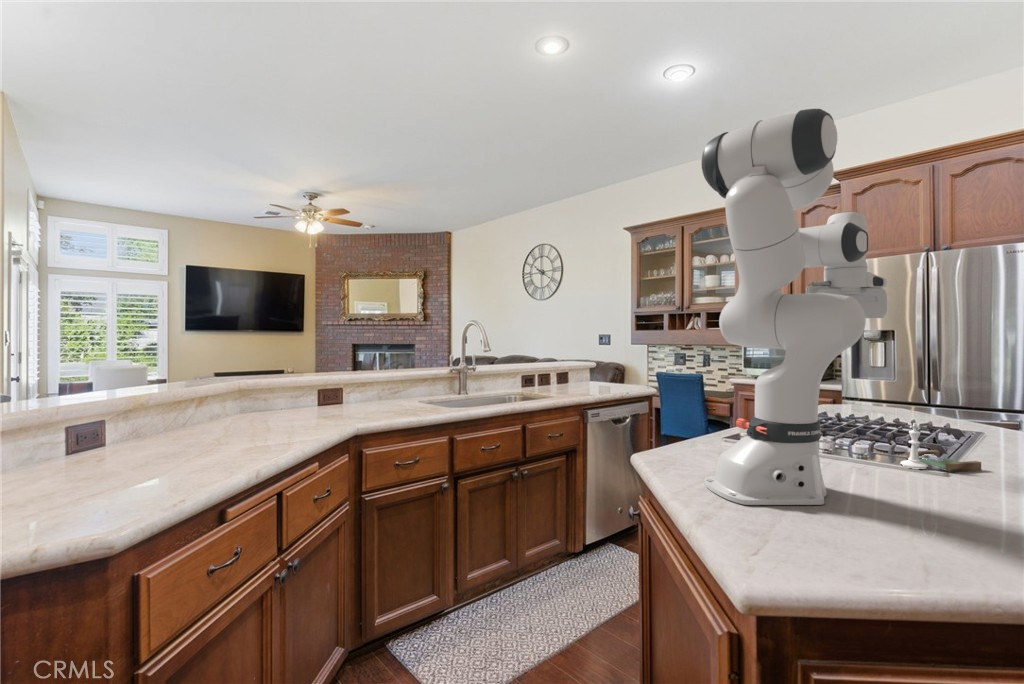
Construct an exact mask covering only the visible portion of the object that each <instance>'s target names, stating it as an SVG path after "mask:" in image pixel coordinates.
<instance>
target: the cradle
mask: <svg viewBox="0 0 1024 684" xmlns="http://www.w3.org/2000/svg"><path fill="white" fill-rule="evenodd" d="M910 452H911V451H906V456H905V458H906V457H907V458H909V457H910ZM924 454H934V455H937V456H940V451H939V450H937V449H933V450H918V457H919V456H922V455H924ZM919 460H921V461H920V462H923V463H927V464H930V465H934V466H938V467H941V468H943V469H946V470H947V471H948V472H947V471H946V472H947V473H960V472H961V473H963V472H978V471H982V461H978V460H971V461H960V460H959V461H958V460H954V459H950V458H947V457H944V459H943V461H941V462H940V461H939V462H937V461H935V460H934V461H933V460H929V459H927V460H926V459H922V458H919Z"/></svg>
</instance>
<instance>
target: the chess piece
mask: <svg viewBox="0 0 1024 684" xmlns="http://www.w3.org/2000/svg"><path fill="white" fill-rule="evenodd" d="M909 428H910V429H912V430H909V431H908V433H909V436H910V439H911V440H908V443H909V444H911V447H910V451H909V452H910V457H909V458H908V460H906V459H905V460H900V463H899V464H902V465H903V466H908V467H914V468H926V467H928V468H929V466H928V465H927V464H925V463H922V462H920V461H921V460H919V457H918V451H919V450H918V445H920V444H921V442H920V441H919V440H918V439H919V437H920V435H921V432H920V431H918V430H917V429H921V428H920V425H917V423H916V422H913V423H912V425H909Z"/></svg>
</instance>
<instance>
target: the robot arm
mask: <svg viewBox="0 0 1024 684" xmlns="http://www.w3.org/2000/svg"><path fill="white" fill-rule="evenodd" d="M837 145H838V131H837V126H836V124H835V121H834V118H833V117H832V115H831V114H830V113H829V112H828V111H826V110H823V109H821V108H808V109H807V108H806V109H801V110H799V111H797V112H796V113H790V114H785V115H780V116H776V117H771V118H768V119H765V120H758V121H754V122H751V123H749V124H746V125H743V126H741V127H739V128H736V129H734V130H731V131H730V132H728V131H725V132H723V133H721V134H719V135H717V136H715V137H714V138H712V139H710V140H709V141H708V142H707V143H706V145H705V147H704V148H703V151H702V155H701V171H702V174H703V177H704V179H705V181H706V182H707V184H708V185H709V186H710V188H712V190H713V191H715V192H717V193H718V195H719V196H720V197H721V198H723V199H725V201H724V205H725V206H724V207H725V209H724V210H725V219H726V227H727V232H728V236H729V240H730V244H731V248H732V252H733V255H734V258H735V263H736V267H737V268H736V269H737V273H738V278H739V279H738V280H739V282H738V288H737V291H736V294H735V295H734V296H733V298H731V299H730V300H729V301H728V302H726V304H725V305H724V306H723V308H722V309H721V312H720V314H719V317H718V318H719V319H718V326H719V331H720V333H721V335H722V337H723V338H724V340H725V341H726V342H727V343H728V344H730V345H734V346H739V347H743V348H748V349H756V350H757V349H759V350H760V349H762V350H784V351H785V356H784V359H783V361H782V362H781V364H779V365H777V366H774V367H771V368H768V369H767V370H765V371H763V372H762V373H761V374H759V375H758V377H757V378H756V380H755V383H754V414H753V416H752V417H751V420H750V421H749V420H748V419H745V418H741V417H739V418H737V420H736V421H735V426H736V428H739V429H742V430H746V432H745V433H746V434H745V435H744V436H743V437H742V438H741V439H739V440H738V441H736V442H735V443H734V444H733V445H731V446H730V447H729V448H728V449H726V450H725V451H723V452H722V453H720V455H719V457H718V459H717V462H716V469H715V474H714V475H708V476H705V477H704V480H703V484H704V486H705V487H706V488H707V489H708V490H710V491H711V492H712V493H714V494H716V495H718V496H720V497H721V498H724V499H726V500H729V501H730V502H733V503H737V504H740V505H745V506H762V505H763V506H769V505H770V506H772V505H773V506H783V505H784V506H785V505H787V506H792V505H793V506H796V505H797V506H799V505H800V506H801V505H802V506H803V505H805V506H811V505H812V506H814V505H815V506H819V505H820V506H821V505H824V504H825V497H826V496H827V495H828V492H827V489H826V486H825V482H824V479H823V474H822V466H821V460H820V452H819V450H820V449H819V442H820V440H821V421H820V420H819V419H818V418H819V400H820V399H819V398H820V397H819V396H820V388H821V382H822V379H823V376H824V374H825V372H826V370H827V369H828V367H829V366H830V364H831V363H832V362H833V361H834V360H835V359H836V358H837V357H838V356H839V355H840V354H842V353H843V352H844V351H846V350H848V349H849V348H851V347H853V346H854V345H855V344H856V343H857V342H858V341H859V340H860V339H861V337H862V336H863V333H864V331H865V327H866V322H867V321H866V319H883V318H885V316H886V315H887V312H888V294H887V291H886V289H884V288H885V287H886V286H887V285H888V284H887V282H888V281H887V279H886V278H885V277H884V276H883V277H882V276H880V275H877V274H875V273H872V272H870V271H868V269H869V268H868V267H869V266H868V265H869V264H868V263H867V252H868V250H869V235H868V233H869V232H868V228H867V227H868V226H867V220H866V217H865V215H864V214H863V213H861V212H857V211H841V212H837V213H834V214H831V215H830V216H828V218H827V222H826V223H825V224H821V225H815V226H808V227H799V224H798V220H797V217H796V214H795V211H798V210H801V209H804V208H806V207H808V206H810V205H812V204H813V203H816V201H818V200H819V199H820V198H822V196H824V194H825V193H826V192H827V191H828V189H829V187H830V186H831V184H832V182H833V179H834V173H835V171H834V164H833V159H834V157H835V154H836V150H837ZM820 267H823V281H812V282H810V283H809V284H808V285H807V286H806V288H805V293H791V294H790V293H789V294H787V293H782V292H781V290H780V289H782V288H784V287H786V286H788V285H789V284H790V283H792V282H794V281H795V280H796V279H797V278H798V277H799V276H800V275H801V274H802V272H803V270H804V269H806V268H807V269H808V268H809V269H810V268H820Z"/></svg>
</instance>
